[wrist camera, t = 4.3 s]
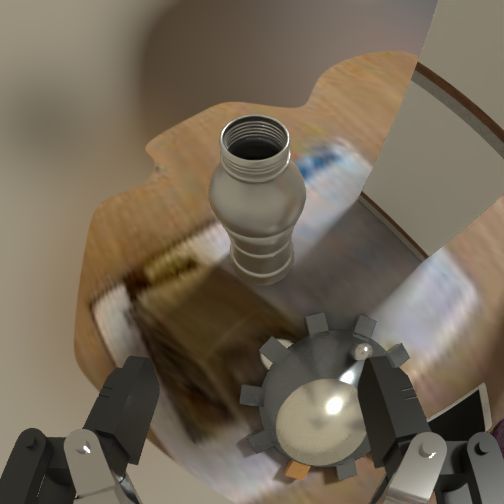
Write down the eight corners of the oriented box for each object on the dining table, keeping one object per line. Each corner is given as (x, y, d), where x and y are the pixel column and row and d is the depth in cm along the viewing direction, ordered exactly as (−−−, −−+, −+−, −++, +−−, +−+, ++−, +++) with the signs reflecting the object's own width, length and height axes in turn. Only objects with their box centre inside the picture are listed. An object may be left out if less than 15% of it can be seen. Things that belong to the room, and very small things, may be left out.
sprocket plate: (287, 287, 32) (290, 276, 28) (430, 346, 28) (450, 342, 24) (213, 441, 26) (204, 453, 22) (364, 491, 23) (376, 507, 19)
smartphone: (493, 426, 23) (402, 486, 22) (490, 426, 24) (400, 484, 23) (485, 380, 26) (392, 438, 25) (482, 380, 26) (389, 437, 26)
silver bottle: (280, 299, 32) (298, 207, 13) (222, 277, 33) (168, 166, 14) (300, 247, 34) (332, 116, 15) (245, 227, 35) (223, 89, 16)
